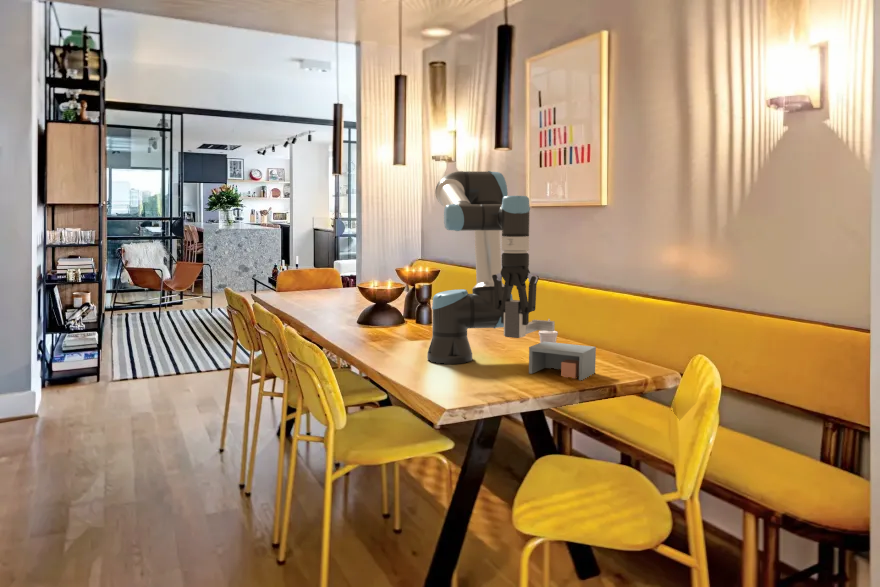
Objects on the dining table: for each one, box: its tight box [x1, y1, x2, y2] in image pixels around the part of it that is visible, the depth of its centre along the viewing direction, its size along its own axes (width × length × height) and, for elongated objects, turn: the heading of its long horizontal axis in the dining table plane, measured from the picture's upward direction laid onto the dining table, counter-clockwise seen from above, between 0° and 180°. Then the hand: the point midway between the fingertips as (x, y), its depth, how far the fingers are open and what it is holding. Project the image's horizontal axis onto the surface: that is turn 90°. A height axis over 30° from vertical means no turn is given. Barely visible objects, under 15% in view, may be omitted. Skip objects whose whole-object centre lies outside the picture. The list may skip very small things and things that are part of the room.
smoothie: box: [538, 318, 559, 343], centre depth 218 cm, size 6×6×14 cm
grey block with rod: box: [504, 299, 556, 339], centre depth 187 cm, size 8×17×10 cm, turn 147°
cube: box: [560, 359, 579, 379], centre depth 196 cm, size 4×4×4 cm
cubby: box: [528, 342, 597, 381], centre depth 199 cm, size 17×11×8 cm, turn 57°
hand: (514, 335), depth 183 cm, fingers closed on grey block with rod, 4 cm apart
